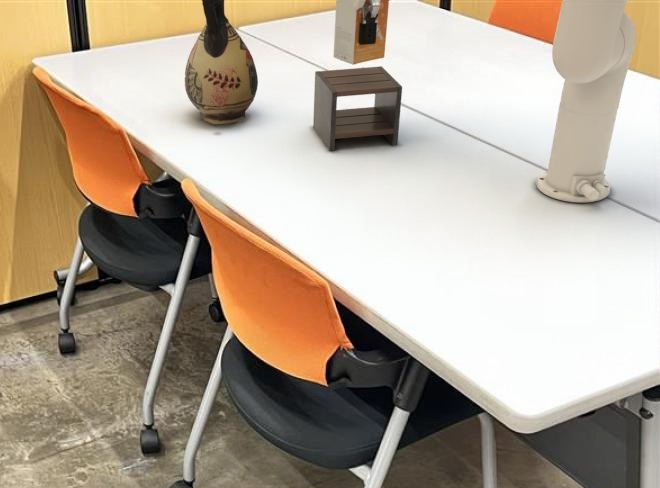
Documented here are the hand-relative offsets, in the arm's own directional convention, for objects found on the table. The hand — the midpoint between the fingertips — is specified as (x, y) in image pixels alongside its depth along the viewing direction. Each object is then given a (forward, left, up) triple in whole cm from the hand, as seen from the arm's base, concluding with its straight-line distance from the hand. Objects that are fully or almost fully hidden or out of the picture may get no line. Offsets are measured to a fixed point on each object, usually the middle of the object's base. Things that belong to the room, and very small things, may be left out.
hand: (360, 36), depth 189 cm
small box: (0, 0, -4) cm, 4 cm away
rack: (0, 0, -20) cm, 20 cm away
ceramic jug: (+16, +25, -20) cm, 36 cm away
